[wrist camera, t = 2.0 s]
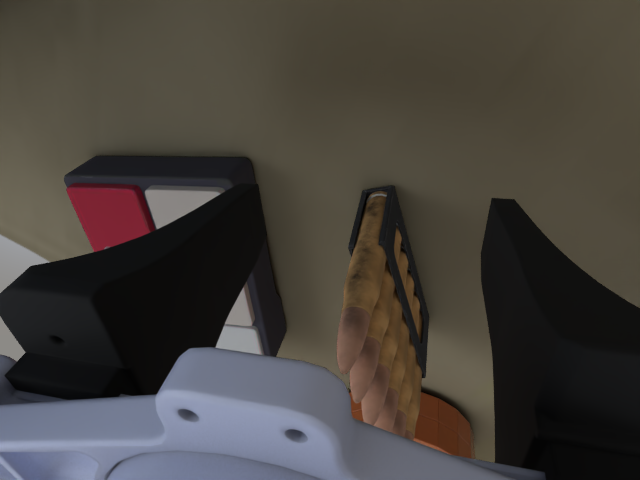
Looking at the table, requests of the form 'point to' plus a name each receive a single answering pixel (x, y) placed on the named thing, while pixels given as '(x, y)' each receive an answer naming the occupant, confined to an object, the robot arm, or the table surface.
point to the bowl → (437, 426)
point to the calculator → (165, 207)
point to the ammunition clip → (383, 317)
